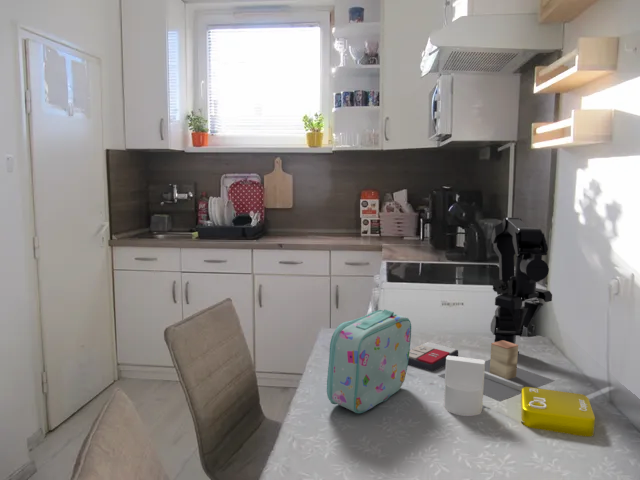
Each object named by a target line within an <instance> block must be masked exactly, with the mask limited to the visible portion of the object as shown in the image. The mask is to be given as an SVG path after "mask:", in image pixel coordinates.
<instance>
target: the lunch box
mask: <svg viewBox="0 0 640 480" xmlns="http://www.w3.org/2000/svg"><path fill="white" fill-rule="evenodd" d="M411 339H412V321H411V320H410V318H408V317H406V316H403V315H401V314H400V315H399V314H396V313H394V311H391V310H388V309H377V310H375V311H372V312H370V313H368V314H366V315H362V316H361V317H358V318H355V319H352V320H348V321H344V322H342V323H340V324H339V325H337V327H336V329H335V330H334V332H333V334H332V336H331V338H330V342H329V343H330V344H329V354H328V356H329V357H328V366H327V367H328V368H327V369H328V370H327V379H326V395H327V398H328V400H329V402H330V403H331V404H332V405H338V406H340V407H343V408H346V409H347V410H349V411H351V412H353V413H355V414H363V413H366V412H367V411H369V410H370V409H372V408H374V407H376V405H379V404H380V403H382V402H386V401H388V399H390V397H392V396H393V395H394V394H396V393H398V392H399V391H400V390H401V387H402V386H403V384H404V383H405V379H406V374H407V371H408V367H409V366H408V360H409V352H410V350H411V342H412V341H411Z"/></svg>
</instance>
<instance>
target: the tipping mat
mask: <svg viewBox="0 0 640 480" xmlns="http://www.w3.org/2000/svg"><path fill="white" fill-rule="evenodd" d="M437 376H438V377H439V378H441V379H442V378H443V379H444V380H445V373H442V374H439V375H437ZM555 381H556V380H554V379H552V378H549V377H546V376H543V375H540V374H537V373H535V372H531V371H528V370H525V369H523V368H519V367H517V372H516V377H514V378H511V379H508V380H507V379H505V378H502V377H499V376H497V375H494V374H491V373H490V359H488V360H485V371H484V387H483V396H486V397H488V398H490V399H494V400H495V401H498V402H502V401H504V400H508V399H510V398H513V397H515V396H518V395H521V391H522V388H524V387H532V388H540V387H542V386H544V385H547V384H549V383H552V382H555Z"/></svg>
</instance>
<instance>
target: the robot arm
mask: <svg viewBox="0 0 640 480" xmlns="http://www.w3.org/2000/svg"><path fill="white" fill-rule="evenodd" d="M491 244H493V251H494V252H495V254H496V256H497V257H498V261H499V262H498V269H499V271H498V272H499V274H498V275H499V277H498V278H499V279H495V280H493V283H492V290H493V292H494V293H496V294H497V296H496V297H495V298H494V306H496V309H495V310H494V315H493V316H492V320H491V322H490V332H491V334H492V335H494V342H498V341H501V340H504V341H507V342H510V343H514V344H516V340H517V336H519V337H522V335H523V330H524V328H525V329H526V328H529V327H530V325H531V323H532V321H533V320H534V318H535V317H536V315H537V314H538V312H539V311H540V309H541V308H542V307H543V306H544V303H548V302H552V301H553V293H552V292H551V291H550V290H547V289H543V288H538V287H537V283H539V282H541V281H542V280H544V279H545V278H546V277H547V276H548V275H549V270H550V268H549V265H548V263H547V262H546V261H545V260H543V256H547V255H548V250H549V247H548V243H547V239H546V236H545V233H544V232H543V231H542V229H541V228H538V227H531V226H530V227H529V226H528V225H527V224H526V223H524V222H523V220H522V218H519V217H508V216H506V217H504V218H503V219H502V221H501V222H500V223H498V224H497V225H495V226H494V227H493V230H492V233H491ZM539 299H540V300H543V301H544V303H542V302H540V300H539ZM494 342H493V343H494ZM518 354H520V351H519V350H518Z"/></svg>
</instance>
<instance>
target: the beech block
mask: <svg viewBox="0 0 640 480" xmlns="http://www.w3.org/2000/svg"><path fill="white" fill-rule="evenodd" d="M518 351H519V344H518V343H517V344H516V343H515V344H514V343H510V342H507V341H504V340H501V341H498V342H492V343H491V346H490V359H489V360H490V373H491V374H494V375H497V376H499V377H502V378H505V379H507V380H508V379H511V378H514V377H516V372H517V368H518V359H519V358H518V357H519V355H518V354H519V353H518Z"/></svg>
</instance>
